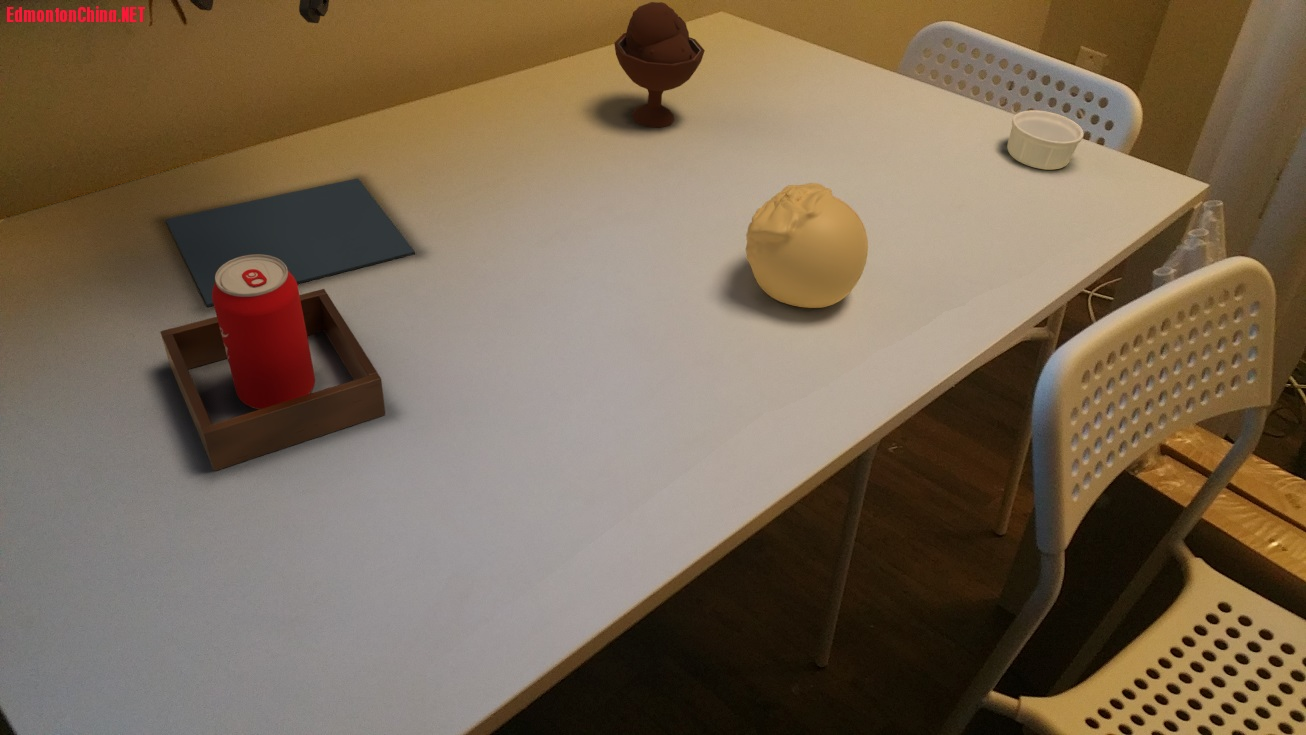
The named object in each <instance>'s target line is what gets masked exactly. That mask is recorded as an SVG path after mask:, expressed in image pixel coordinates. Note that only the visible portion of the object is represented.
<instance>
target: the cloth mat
mask: <svg viewBox="0 0 1306 735" xmlns="http://www.w3.org/2000/svg"><path fill="white" fill-rule="evenodd" d="M165 223H166V225H167V226H168V229H169V231H170V233H171V235H172V237H173V239H174V241H175V243H176V245H177V247H178V250H179V251H180V253H181V256H182V257H183V259H184V261H185V263H186V265H187V268H188V271H189V272H190V274H191V276H192V278H193V280H194V282H195V284H196V286H197V288H198V290H199V292H200V294H201V296H202V298H203V300H204V302H205V304H206V306H207V307H208V308H209V307H214V304H213V300H212V290H213V287H214V284H215V275H216V272H217V271H218V269H219V268H220V267H221V266H222V265H223V264H225V263H227V262H228V261H230V260H232V259H235V258H238V257H242V256H246V255H257V254H258V255H268V256H272V257H275V258H278V259H279V260H281V261H282V262H283V263H284V264H285V265H286V267H287V270H288V271H289V272H290V273H291V274H292V275H293V277H294V278H295V280H296V282H297V285H298V284H299V285H300V284H302V283H303V284H304V283H306V282H311V281H315V280H319V279H323V278H327V277H330V276H334V275H339V274H342V273H347V272H350V271H353V270H357V269H362V268H365V267H370V266H373V265H377V264H381V263H385V262H390V261H393V260H397V259H401V258H404V257H409V256H413V255H415V254H416V251H415V250H414V249H413V247H412V246H411V245H410V243H409V241H408V240H407V239H406V238H405V237H404V236H403V234H402V233H401V231H399V229H398V228H397V226H396V225H395V224H394V222H393V221H392V220H391V219H390V217H389V216H388V215H387V213H386V212H385V211H384V209H383V208H382V207H381V206H380V204H379V203H378V202H377V201H376V199H375V198H374V197H373V195H371V193H370V192H369V190H368V189H367V188H366V187H365V185H364V184H363V182H361V180H360V179H359V178H358V177H357V178H353V179H348V180H343V181H338V182H334V183H329V184H324V185H319V186H315V187H311V188H305V189H301V190H296V191H295V190H294V191H291V192H286V193H281V194H278V195H272V196H268V197H263V198H257V199H254V200H249V201H243V202H239V203H235V204H229V205H225V206H220V207H215V208H212V209H205V210H202V211H197V212H192V213H188V214H183V215H177V216H173V217H169V218H165Z"/></svg>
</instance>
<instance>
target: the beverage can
mask: <svg viewBox="0 0 1306 735" xmlns="http://www.w3.org/2000/svg"><path fill="white" fill-rule="evenodd" d="M300 295H301V294H300V291H299V285H298V284H297V282H296V280H295V278H294V277H293V275H292V274H291V273H290V272H289V271H288V270H287V267H286V265H285V264H284V263H283V262H282V261H281V260H279V259H278V258H275V257H272V256H268V255H258V254H257V255H246V256H242V257H238V258H235V259H232V260H230V261H228V262H227V263H225V264H223V265H222V266H221V267H220V268H219V269H218V271H217V272H216V275H215V284H214V287H213V290H212V300H213V304H214V305H213V307H214V311H215V315H216V317H217V319H218V323H219V327H220V331H221V335H222V339H223V343H224V346H225V350H226V354H227V358H226V359H227V362H228V365H229V369H230V374H231V377H232V380H233V385H234V389H235V393H236V396H237V397H238V399H239V400H240V401H241V403H243V404H244V405H246V406H248V407H250V408H252V409H257V410H260V409H263V408H266V407H269V406H273V405H276V404H279V403H282V402H286V401H289V400H292V399H295V398H299V397H302V396H305V395H308V394H311V393H312V391H313V389H314V387H315V384H316V377H315V376H316V375H315V371H314V366H313V362H312V361H313V360H312V354H311V350H310V344H309V339H308V336H307V333H306V327H305V322H304V317H303V311H302V306H301V301H300Z"/></svg>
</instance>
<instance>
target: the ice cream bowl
mask: <svg viewBox="0 0 1306 735" xmlns="http://www.w3.org/2000/svg"><path fill="white" fill-rule="evenodd" d="M613 44H614V52H615V56H616V58H617V61H618V63H619V66H620V67H621V69H622V70H623V72H624V73H625V75H627V77H628V78H629V79H630V80H631V81H632V82H633V83H634V84H636V85H637V86H639V87H641V88H643V89H646V90H647V93H648V94H647V103H645V104H642V105H639V106H636V108H635V109H634V110H633V111H632V114H631V117H632V119H633V121H634V122H635V123H637V124H638V125H639V124H640V125H641V126H644V127H648V128H664V127H667V126H672V124H673V122H674V121H675V115H674V113H673V112H672V111H671V110H670V108H668V107H666V106H664V105H663V104H662V100H663V99H662V98H663V93H664V92H666V91H671V90H673V89H677V88H678V87H682V85H685V83H686V82H688V81H689V80H690V79H691V78H692V76H693V75H694V73H695V72H696V70H697V69H698V67H699V66H700V64H701V62H702V60H703V58H704V54H705V52H706V50H705V49H704V47H702V45H701V44H700V43H699V41H697V39H695V38H693V37H690V32H689V30H688V27H687V22H685V20H684V19H683V18H681V16H679V14H678V13H676V12H675V10H674V9H673V8H672V7H670V6H669V5H668V4H667V3H666V2H660V1H659V2H657V1H650V2H648V3H645V4H643V5H640V6H637V8H636V9H635V10H634V11H632V16H631V17H630V19H629V22H628V25H627V27H626V32H624V33H622V34H621V35H620V36H619V37H618V39H616V40H615V41H614V43H613Z"/></svg>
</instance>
